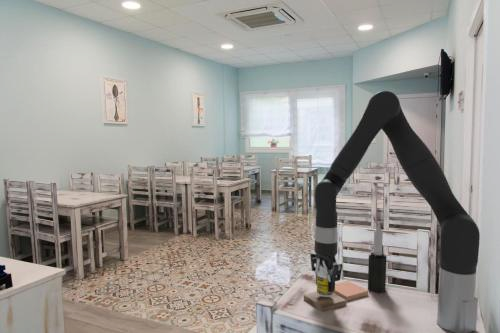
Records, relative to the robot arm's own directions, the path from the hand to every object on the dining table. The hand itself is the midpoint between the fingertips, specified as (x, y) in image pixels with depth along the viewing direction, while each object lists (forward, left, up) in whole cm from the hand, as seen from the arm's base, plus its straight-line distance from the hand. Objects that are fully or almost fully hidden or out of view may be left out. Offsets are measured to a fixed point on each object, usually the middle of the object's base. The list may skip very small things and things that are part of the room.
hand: (325, 288), depth 121 cm
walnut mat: (0, 0, -5) cm, 5 cm away
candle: (-1, -23, -5) cm, 23 cm away
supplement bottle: (0, 0, -2) cm, 2 cm away
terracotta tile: (+2, -12, -5) cm, 13 cm away
